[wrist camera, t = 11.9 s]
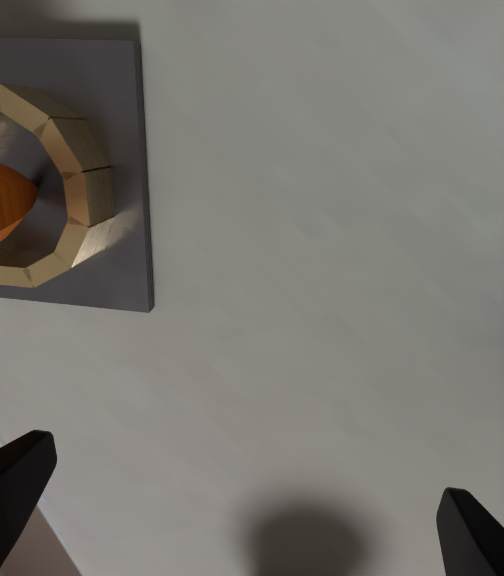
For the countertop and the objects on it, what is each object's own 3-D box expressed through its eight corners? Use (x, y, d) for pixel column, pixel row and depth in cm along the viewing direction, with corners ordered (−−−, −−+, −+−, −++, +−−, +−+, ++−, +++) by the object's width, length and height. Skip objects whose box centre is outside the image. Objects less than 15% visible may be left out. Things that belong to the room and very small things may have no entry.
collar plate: (140, 44, 18) (105, 26, 15) (154, 306, 23) (130, 334, 20) (-99, 38, 19) (-176, 20, 16) (-37, 287, 24) (-87, 310, 21)
